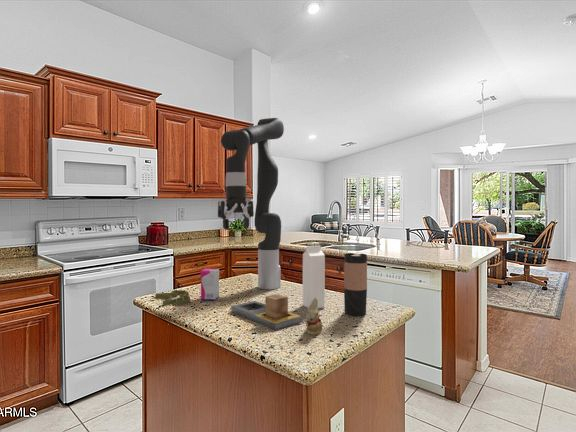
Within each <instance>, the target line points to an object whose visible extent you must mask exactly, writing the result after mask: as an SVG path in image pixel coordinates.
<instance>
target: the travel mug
mask: <svg viewBox="0 0 576 432" xmlns="http://www.w3.org/2000/svg"><path fill="white" fill-rule="evenodd" d="M343 262H344V269H343V270H344V271H343V272H344V273H343V275H344V279H343V295H344V296H343V297H344V300H343V301H344V313H345V315H348V316H351V317H362V316H365V315H366V314H367V298H368V296H367V295H368V255H367V254H366V253H360V254H356V253H355V254H354V253H353V252H351V253H344V261H343Z"/></svg>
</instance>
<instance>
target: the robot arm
mask: <svg viewBox="0 0 576 432" xmlns="http://www.w3.org/2000/svg"><path fill="white" fill-rule="evenodd" d="M284 131H285V127H284V122H283V121H282V119H280V118H277V117H269V118H260V119H259V120H258V121H257V125H251V126H247V127H243V128H241V129H236V130H235V129H234V130H229V131H228V130H227V131H225V132H224V133H223V134H222V136H221V138H220V144H221V146H222V147H223V149H225V150H226V151H230V152H231V151H235V153H234V154H233V155H230V156H229V157H227V158H226V161H225V162H226V163H225V170H226V173H225V198H226V200H225V201H224V200H219V201H218V203H217V218H220V219H222V228H223V229H224V230H226V231H227V230H228V231H229V230H230V219H229V218H230V217H231V215H232V214H234V213H235V214H236V213H240V215H241V216H242V218H243V219H242V221H243V227H242V228H243V229H247V230H248V229H249V227H250V219H251V218H253V217H254V220H253V221H254V222H253V223H254V228H255V230H256V231H257V233H259V234H265V237H264V239H263V240H262V241H259V242H258V243H257V248H258V249H257V252H258V253H257V258H258V259H257V261H258V262H257V270H258V271H257V275H258V276H257V288H258V289H260V290H266V291H267V290H268V291H269V290H270V291H271V290H278V289H279V288H281V282H282V281H281V279H282V277H281V275H282V273H281V272H282V271H281V265H280V244H281V239H282V238H281V237H282V220H281V217H280V215H279V214H277V213H274V212H273V213H272V212H270V211H269V210H270V203H271V200H272V197H273V195H274V193H275V192H276V190H277V187H278V183H279V168H278V165H277V163H276V162H275V160H274V157H272V154H271V153H270V151H269V150H270V149H269V140H278V139H280V138H281V137H283V136H284ZM255 144H257V175H256V176H257V180H256V182H257V183H256V184H257V186H256V187H257V188H256V189H257V190H256V191H257V192H256V202H255V203H256V204H255V212H254V201H253V200H248V201H247V199H246V198H247V177H246V176H247V175H246V163H247V162H246V161H247V157H248V153H249V149H250V147H251V146H252V145H255ZM226 207H227V208H226ZM225 208H226V209H225Z"/></svg>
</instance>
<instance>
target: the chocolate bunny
mask: <svg viewBox="0 0 576 432" xmlns="http://www.w3.org/2000/svg"><path fill="white" fill-rule="evenodd" d="M319 313H320V312H319V308H318V300H317V298H314V299H313V301H312V303H311V305H310V306H309V308H307V309H306V312H305V323H306V324H305V325H306V330H305V332H306V334H307V335H308V334H309V335H308V336H319V333H320V334H322V332H321V331H323V323H322V318H320V315H319Z"/></svg>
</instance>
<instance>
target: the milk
mask: <svg viewBox="0 0 576 432" xmlns="http://www.w3.org/2000/svg"><path fill="white" fill-rule="evenodd" d="M305 248H306V249H305V251H304V252H303V253H302V306H304V307H305V308H306V309H308V308H309V306H310V305H311V303H312V301H313V299H314V298H317V300H318V309H323V308H325V306H326V305H325V300H326V299H325V297H326V296H325V295H326V293H325V292H326V291H325V285H326V284H325V282H326V279H325V277H326V274H325V273H326V271H325V270H326V269H325V268H326V261H325V260H326V259H325V258H326V255H325V253H324V252H323V251H322V246H321V245H309V246H306V247H305Z"/></svg>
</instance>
